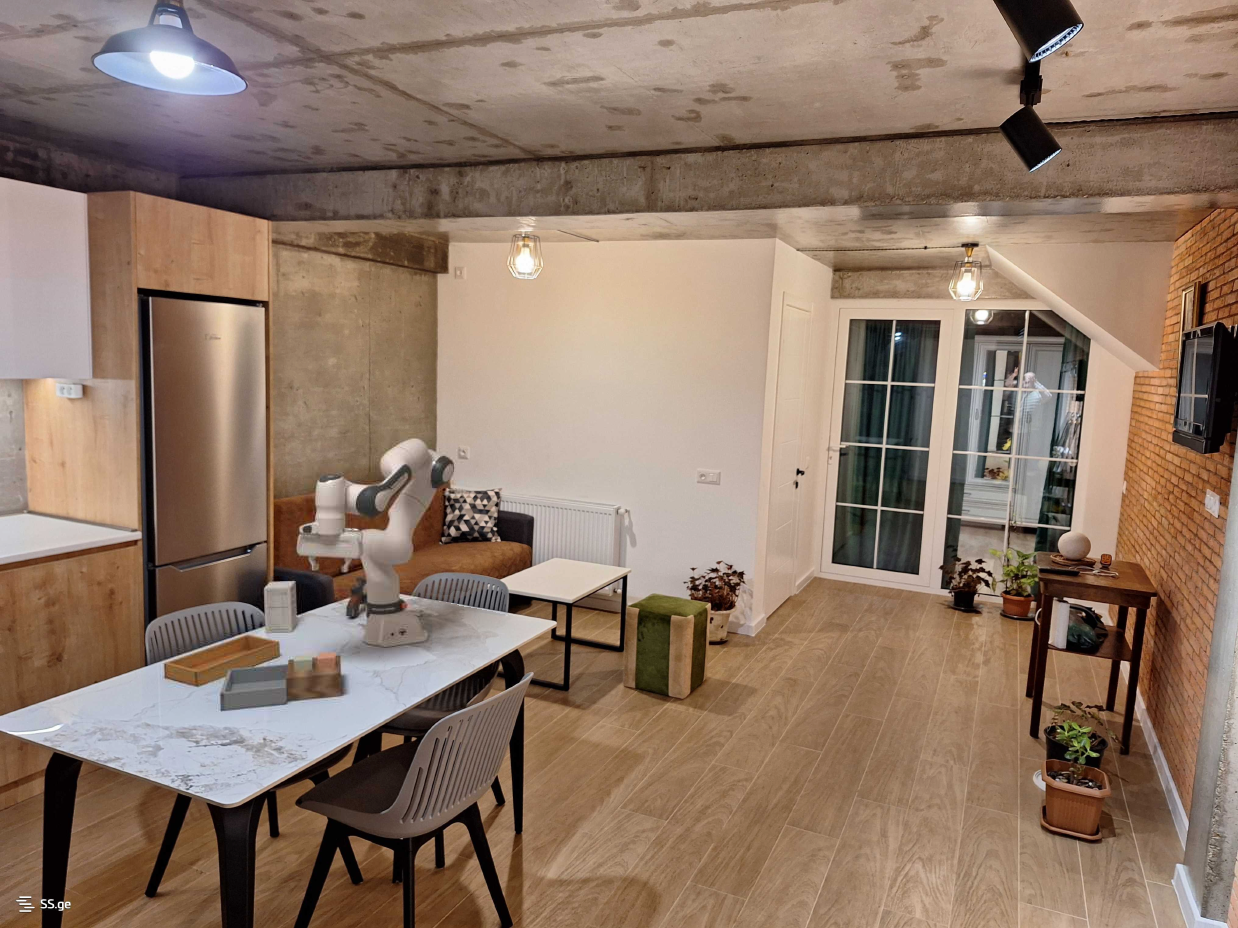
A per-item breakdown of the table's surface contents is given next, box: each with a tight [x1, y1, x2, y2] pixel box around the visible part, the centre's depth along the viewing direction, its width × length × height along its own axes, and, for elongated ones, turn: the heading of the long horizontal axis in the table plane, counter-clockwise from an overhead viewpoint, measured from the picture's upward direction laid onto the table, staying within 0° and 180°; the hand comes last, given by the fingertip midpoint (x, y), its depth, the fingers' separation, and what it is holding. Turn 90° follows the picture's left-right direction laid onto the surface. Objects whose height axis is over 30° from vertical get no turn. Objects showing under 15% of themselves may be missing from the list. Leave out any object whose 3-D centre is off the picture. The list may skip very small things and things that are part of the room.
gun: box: [345, 577, 367, 618], centre depth 332 cm, size 5×27×15 cm, turn 174°
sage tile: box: [294, 653, 314, 671], centre depth 247 cm, size 5×5×3 cm
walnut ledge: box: [286, 654, 342, 703], centre depth 249 cm, size 15×16×7 cm
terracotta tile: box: [317, 651, 336, 669], centre depth 250 cm, size 5×5×3 cm
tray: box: [163, 634, 281, 688], centre depth 265 cm, size 31×15×6 cm, turn 154°
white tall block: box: [263, 580, 298, 634], centre depth 304 cm, size 10×9×17 cm
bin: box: [219, 663, 288, 712], centre depth 244 cm, size 17×20×5 cm
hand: (330, 570), depth 259 cm, fingers open, 8 cm apart
